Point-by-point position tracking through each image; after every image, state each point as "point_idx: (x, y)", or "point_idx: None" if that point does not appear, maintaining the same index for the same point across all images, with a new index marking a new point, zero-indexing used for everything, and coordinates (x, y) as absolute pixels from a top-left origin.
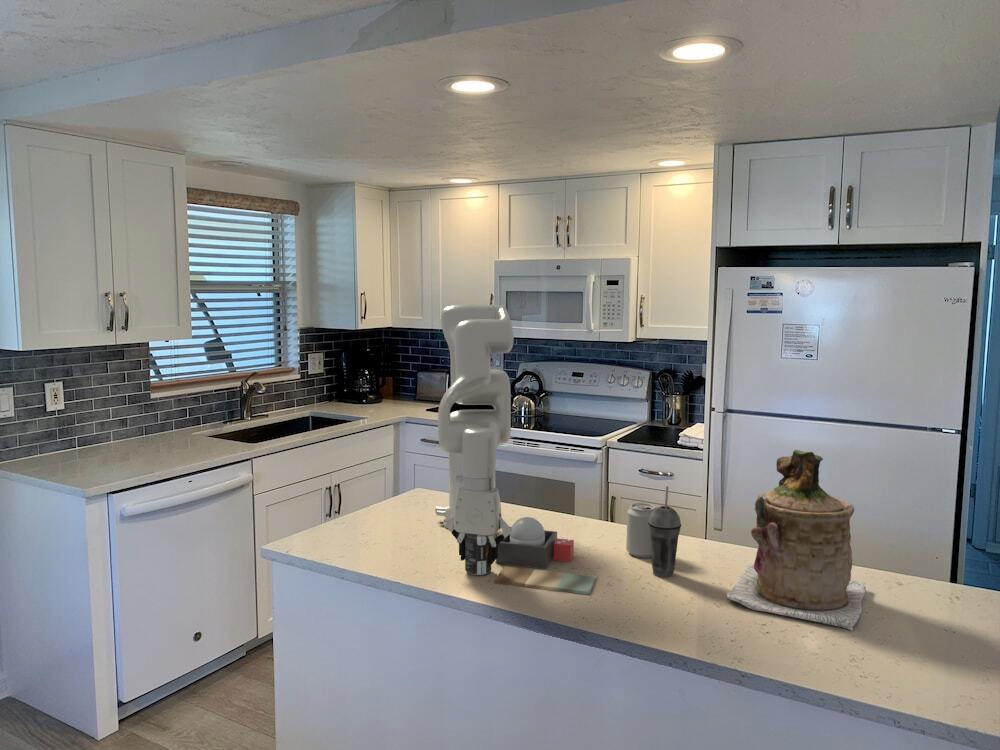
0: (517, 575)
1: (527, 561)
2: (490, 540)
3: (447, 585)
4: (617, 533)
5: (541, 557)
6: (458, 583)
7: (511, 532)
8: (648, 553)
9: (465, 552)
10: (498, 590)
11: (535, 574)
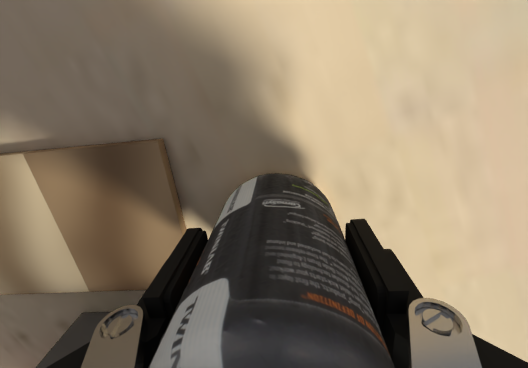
0: (103, 222)
1: None
2: (125, 355)
3: (356, 8)
4: None
5: (67, 349)
6: (309, 63)
7: None
8: None
9: (346, 248)
10: (96, 63)
11: (56, 252)
